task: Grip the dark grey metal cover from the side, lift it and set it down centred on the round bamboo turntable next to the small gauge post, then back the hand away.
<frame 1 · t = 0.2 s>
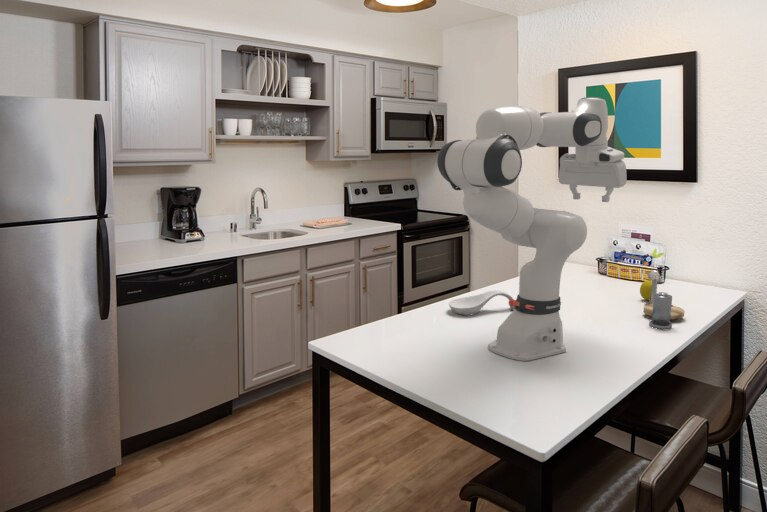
hand: (590, 200, 166), 40 cm above the table, tool pointing down, fingers open, 8 cm apart
gauge post: (652, 306, 194), on the table
turntable base: (663, 317, 182), on the table
lemon: (647, 301, 201), on the table
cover: (660, 326, 173), on the table
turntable: (663, 310, 182), point 2 cm above the table, hinge at 0.0°
spoon rest: (482, 312, 192), on the table
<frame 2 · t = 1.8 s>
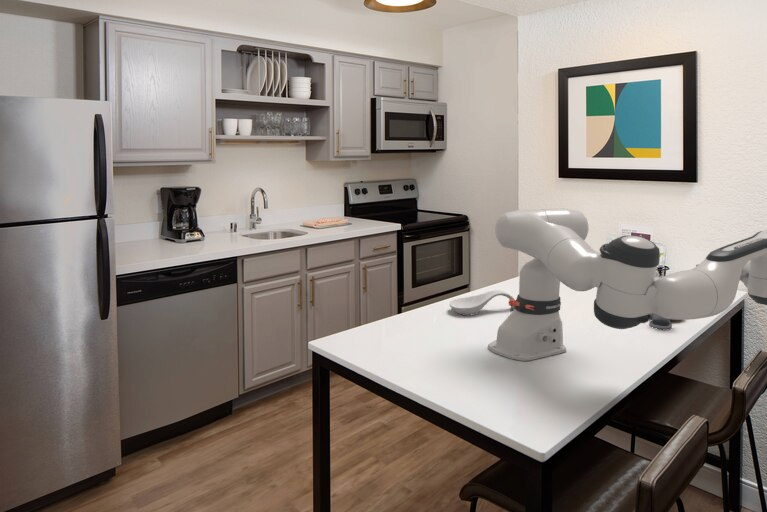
hand: (708, 265, 156), 22 cm above the table, tool horizontal, fingers open, 8 cm apart
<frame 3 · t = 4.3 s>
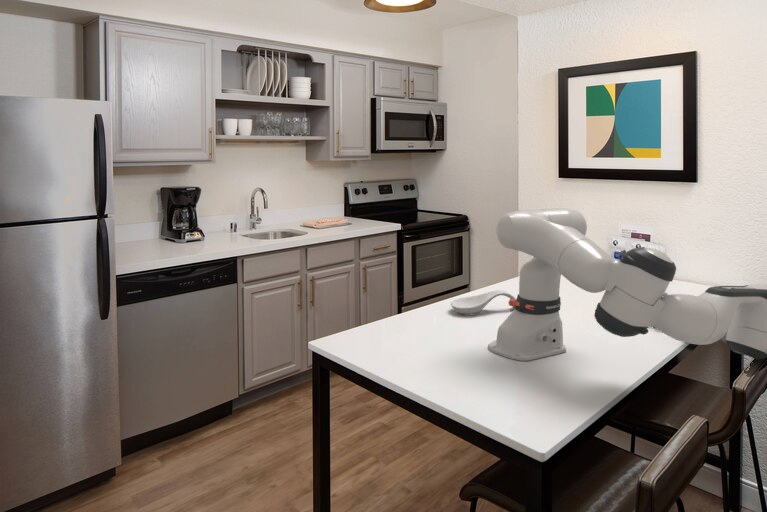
hand: (688, 317, 164), 5 cm above the table, tool horizontal, fingers open, 8 cm apart
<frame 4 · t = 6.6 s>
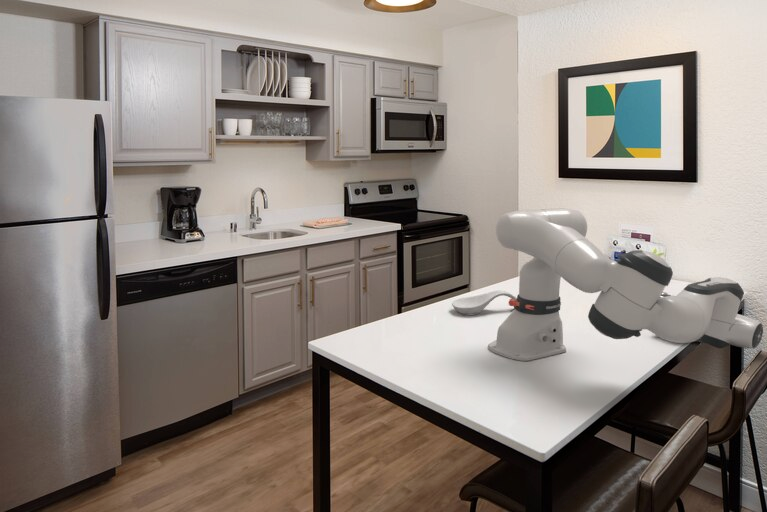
hand: (659, 308, 173), 6 cm above the table, tool horizontal, fingers closed on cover, 5 cm apart
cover: (660, 326, 173), on the table, touching gripper
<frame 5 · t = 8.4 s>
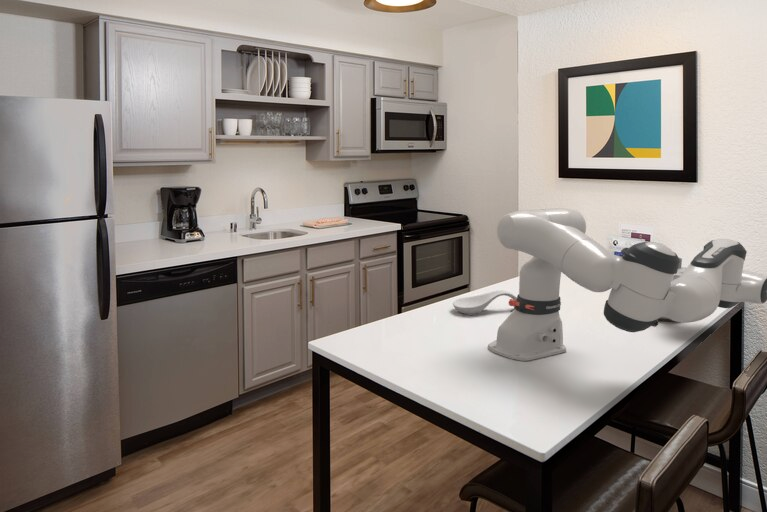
hand: (668, 270, 175), 17 cm above the table, tool horizontal, fingers closed on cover, 5 cm apart
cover: (670, 289, 175), point 11 cm above the table, touching gripper
when the fingers open (10 cm above the table, at t = 10.4 s): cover drops 1 cm, resting on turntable.
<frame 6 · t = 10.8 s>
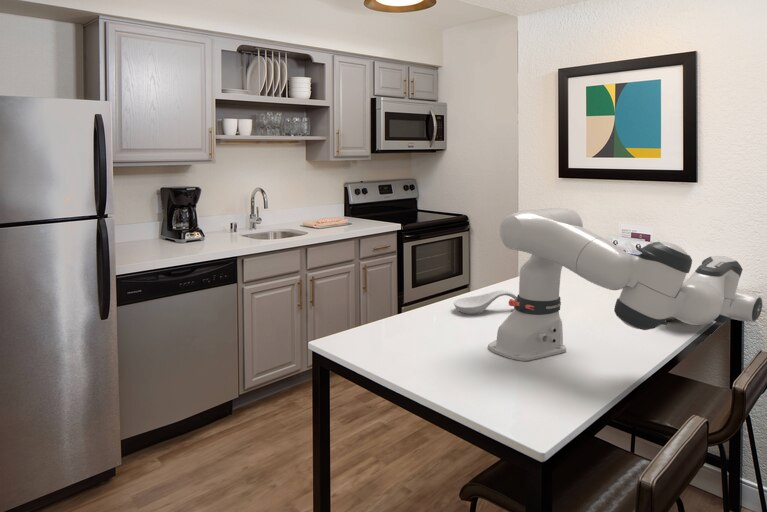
hand: (663, 287, 181), 10 cm above the table, tool horizontal, fingers open, 8 cm apart
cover: (664, 309, 181), point 3 cm above the table, touching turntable
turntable: (663, 310, 182), point 2 cm above the table, hinge at 0.0°, touching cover
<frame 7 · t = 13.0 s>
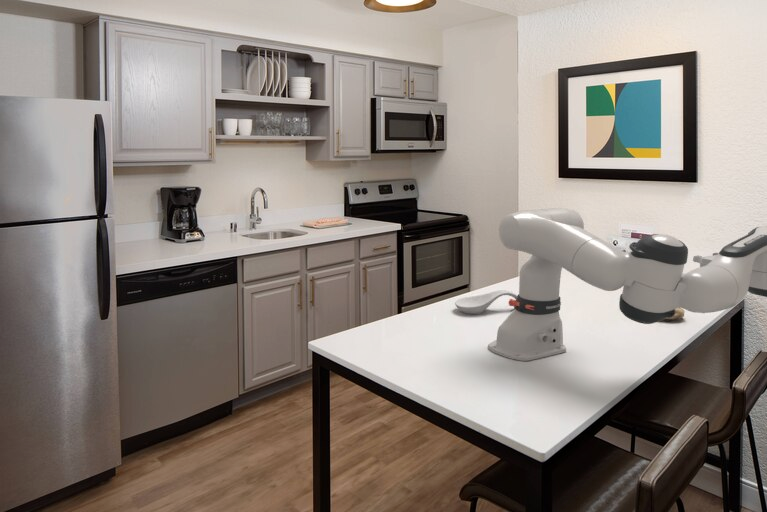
hand: (704, 256, 168), 22 cm above the table, tool horizontal, fingers open, 8 cm apart
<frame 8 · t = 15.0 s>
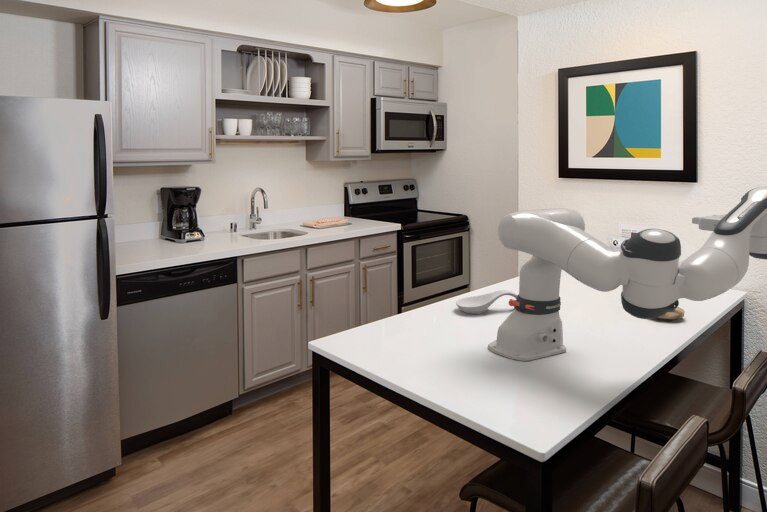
hand: (703, 219, 164), 34 cm above the table, tool horizontal, fingers open, 8 cm apart
at the end: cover 0.1 cm from the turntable (horizontally); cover tilted 0°; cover point 2.8 cm above the table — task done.
